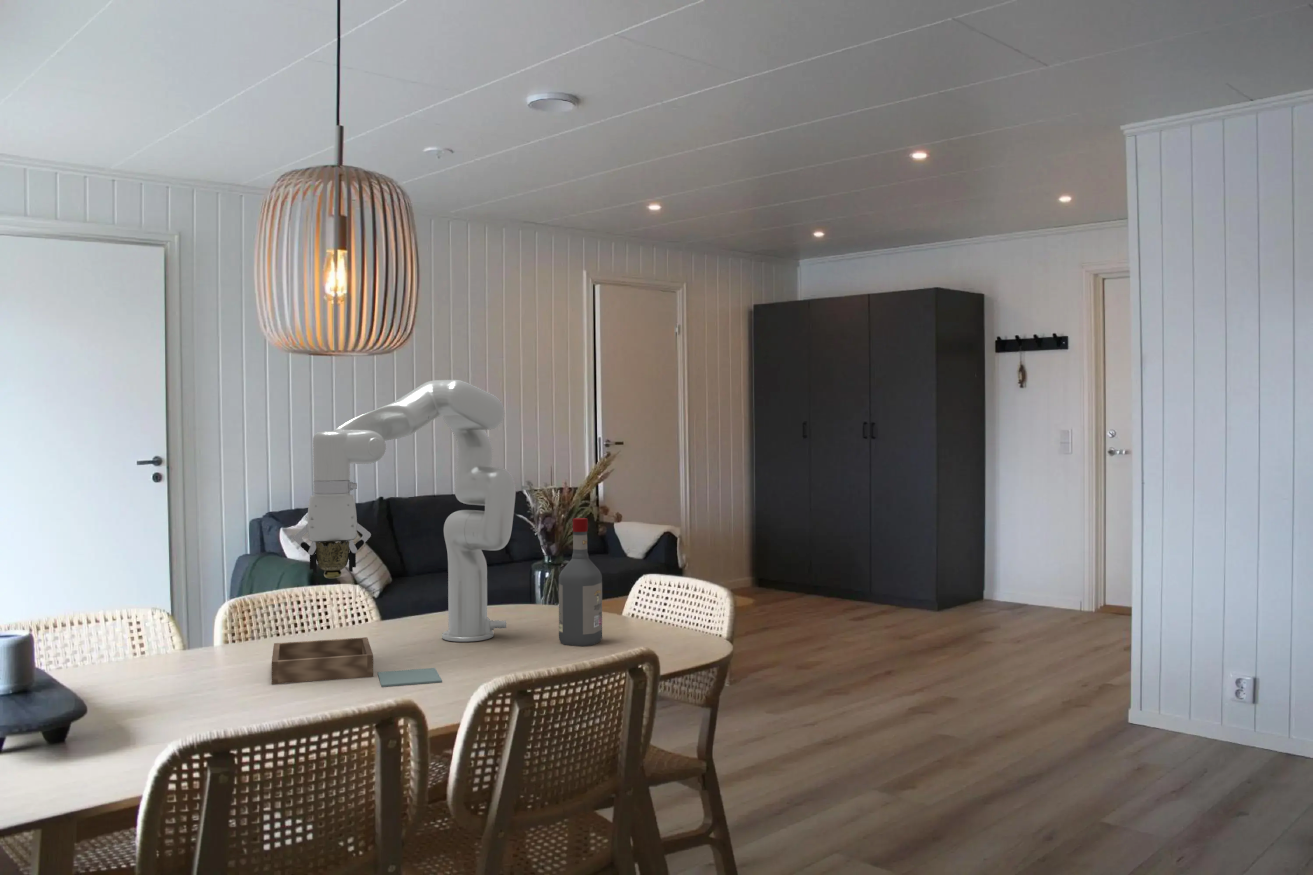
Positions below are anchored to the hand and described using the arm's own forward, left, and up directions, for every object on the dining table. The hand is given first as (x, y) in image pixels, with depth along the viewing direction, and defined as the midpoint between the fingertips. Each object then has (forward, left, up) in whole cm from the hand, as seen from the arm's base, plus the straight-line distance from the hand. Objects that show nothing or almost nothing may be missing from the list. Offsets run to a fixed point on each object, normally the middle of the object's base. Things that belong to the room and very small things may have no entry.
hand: (332, 571), depth 226 cm
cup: (0, 0, -2) cm, 2 cm away
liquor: (-58, -12, -22) cm, 63 cm away
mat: (-15, +12, -21) cm, 29 cm away
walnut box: (+2, -2, -21) cm, 22 cm away
